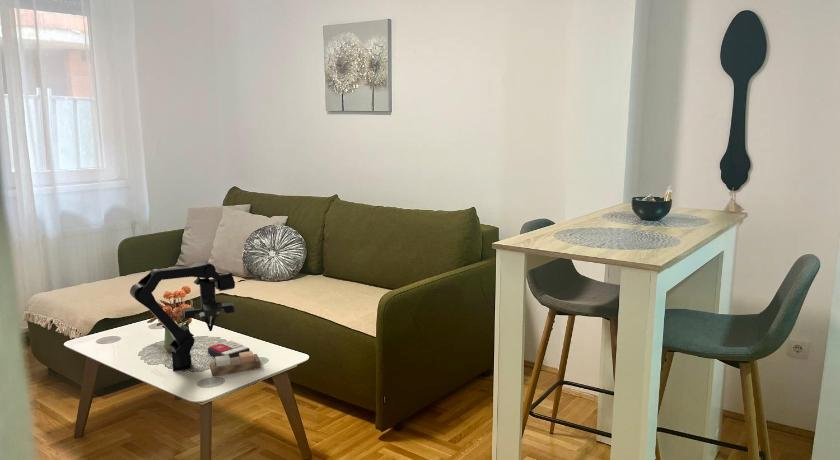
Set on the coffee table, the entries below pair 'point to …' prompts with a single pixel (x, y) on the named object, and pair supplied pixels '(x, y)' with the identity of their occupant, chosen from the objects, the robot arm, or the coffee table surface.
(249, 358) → the tan wooden block
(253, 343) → the coffee table surface
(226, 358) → the cream key
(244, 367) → the key panel
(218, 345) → the calculator
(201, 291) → the robot arm
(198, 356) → the coffee table surface
